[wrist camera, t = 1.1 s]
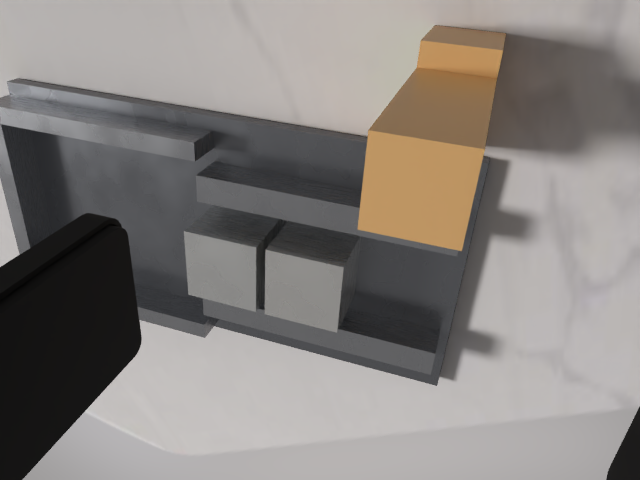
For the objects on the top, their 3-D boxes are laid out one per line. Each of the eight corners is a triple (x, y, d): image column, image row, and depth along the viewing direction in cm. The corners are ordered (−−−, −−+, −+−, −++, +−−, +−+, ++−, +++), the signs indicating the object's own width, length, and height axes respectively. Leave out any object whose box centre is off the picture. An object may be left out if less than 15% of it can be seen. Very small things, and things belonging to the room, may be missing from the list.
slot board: (17, 78, 32) (-22, 89, 30) (489, 157, 26) (486, 179, 24) (59, 276, 39) (30, 298, 37) (438, 376, 33) (432, 410, 31)
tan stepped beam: (435, 25, 24) (372, 92, 14) (506, 33, 23) (493, 110, 13) (417, 135, 26) (354, 258, 17) (480, 145, 26) (454, 280, 16)
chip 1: (215, 202, 31) (183, 231, 28) (281, 216, 30) (256, 247, 27) (217, 262, 33) (188, 294, 30) (279, 277, 32) (255, 311, 29)
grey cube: (290, 218, 30) (265, 249, 27) (361, 233, 29) (343, 267, 26) (287, 279, 32) (264, 314, 29) (354, 295, 31) (337, 332, 28)
